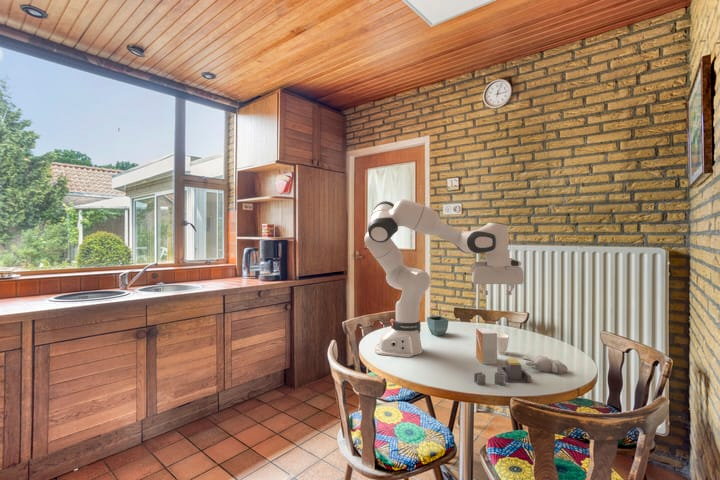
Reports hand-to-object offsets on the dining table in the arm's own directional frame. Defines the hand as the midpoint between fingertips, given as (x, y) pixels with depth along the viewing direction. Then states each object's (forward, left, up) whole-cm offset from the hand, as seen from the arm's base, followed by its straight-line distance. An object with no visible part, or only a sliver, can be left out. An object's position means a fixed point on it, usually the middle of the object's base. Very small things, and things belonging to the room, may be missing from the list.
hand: (497, 294), depth 141 cm
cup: (+5, +16, -29) cm, 34 cm away
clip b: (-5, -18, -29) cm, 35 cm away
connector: (+2, -12, -29) cm, 31 cm away
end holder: (+2, -12, -29) cm, 32 cm away
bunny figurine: (+17, -4, -30) cm, 34 cm away
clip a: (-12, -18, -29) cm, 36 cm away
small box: (-3, +5, -29) cm, 30 cm away
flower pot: (-18, +44, -29) cm, 56 cm away
